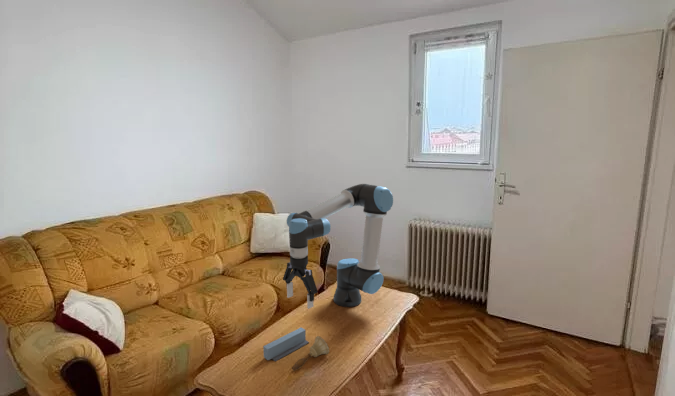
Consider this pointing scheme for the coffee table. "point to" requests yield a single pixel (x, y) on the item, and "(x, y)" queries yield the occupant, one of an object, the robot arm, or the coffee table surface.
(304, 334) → the stick
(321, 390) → the coffee table surface
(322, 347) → the hand bell
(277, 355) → the mat
